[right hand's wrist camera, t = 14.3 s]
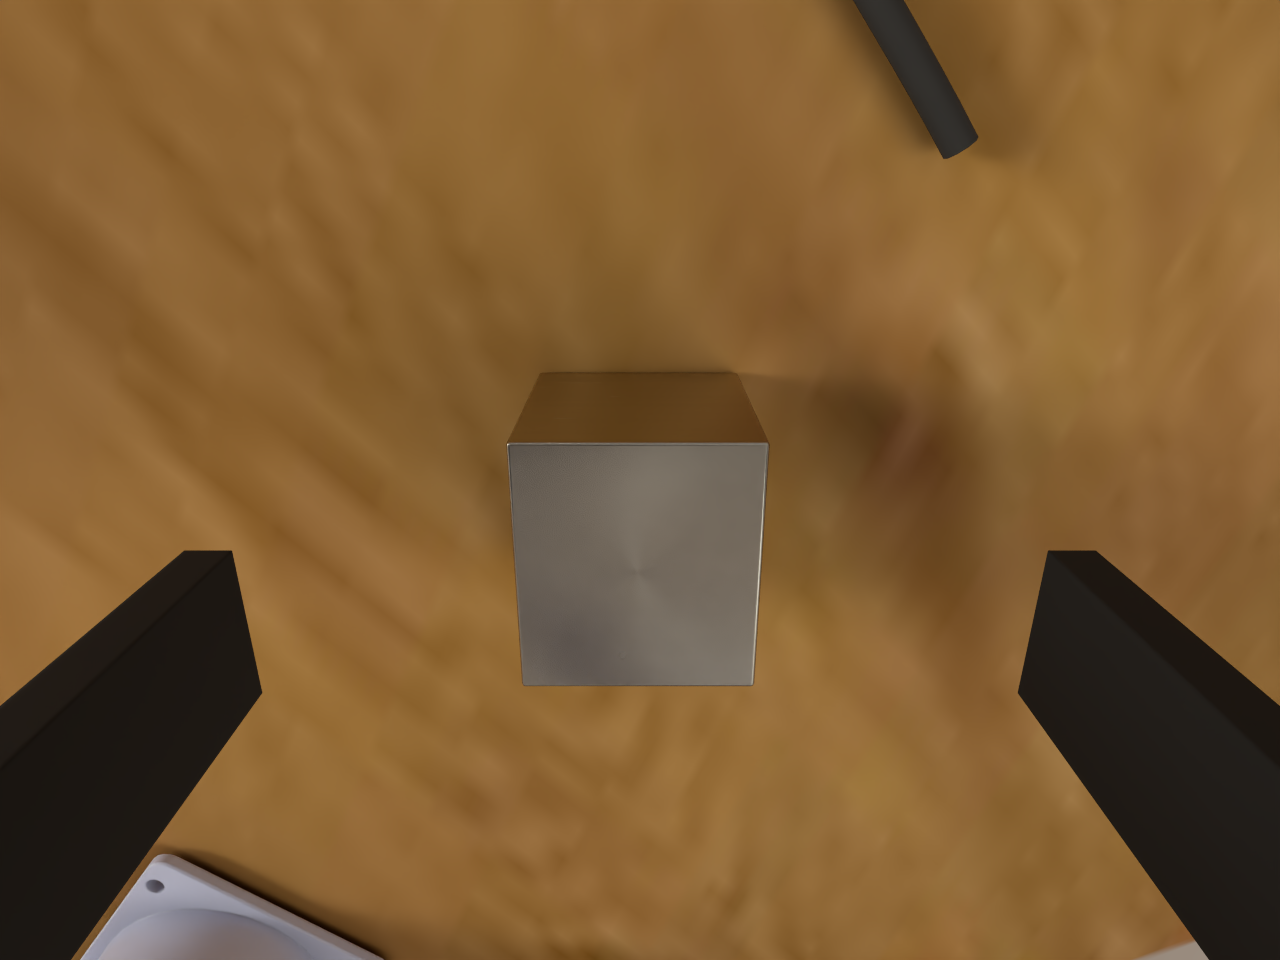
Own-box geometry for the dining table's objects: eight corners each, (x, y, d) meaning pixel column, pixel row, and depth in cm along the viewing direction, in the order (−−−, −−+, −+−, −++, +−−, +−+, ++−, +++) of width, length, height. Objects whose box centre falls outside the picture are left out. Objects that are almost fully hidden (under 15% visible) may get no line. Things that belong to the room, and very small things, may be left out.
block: (737, 372, 18) (770, 442, 14) (728, 568, 20) (754, 687, 15) (539, 372, 18) (505, 442, 14) (549, 568, 20) (521, 687, 15)
